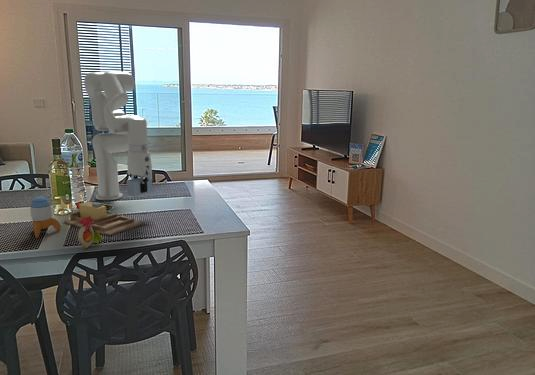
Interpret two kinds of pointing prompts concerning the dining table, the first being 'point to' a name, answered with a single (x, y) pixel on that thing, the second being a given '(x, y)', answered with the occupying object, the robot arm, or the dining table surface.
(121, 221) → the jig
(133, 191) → the plank
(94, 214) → the block
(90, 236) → the bird rattle
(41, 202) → the toy rocket
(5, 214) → the dining table surface
